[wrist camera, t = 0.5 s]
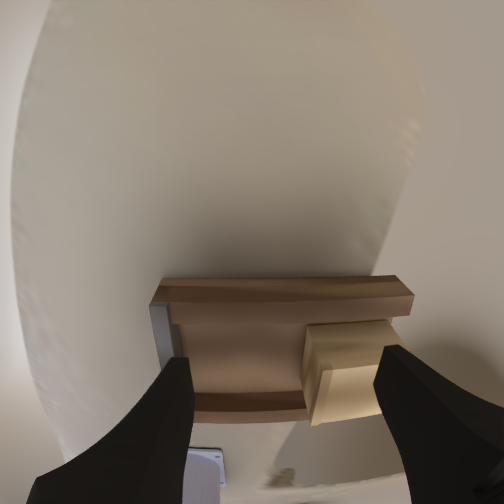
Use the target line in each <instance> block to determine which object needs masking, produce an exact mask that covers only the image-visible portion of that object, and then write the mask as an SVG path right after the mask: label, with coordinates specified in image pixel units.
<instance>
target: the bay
mask: <svg viewBox="0 0 504 504" xmlns="http://www.w3.org/2000/svg"><path fill="white" fill-rule="evenodd" d="M413 300H414V294H413V293H412V292H411V291H410V290H409V289H408V288H407V287H406V286H405V285H404V284H403V283H402V282H401V281H400V280H399V279H398V278H397V277H396V276H395V275H387V276H358V277H322V278H267V279H162V280H161V282H160V284H159V286H158V288H157V290H156V292H155V294H154V297H153V299H152V301H151V303H150V305H149V310H150V315H151V321H152V326H153V332H154V337H155V342H156V347H157V352H158V357H159V361H160V366H161V371H162V369H163V368H164V366H165V365H166V363H167V362H168V360H169V359H170V358H171V357H189V364H190V370H191V375H192V381H193V387H194V392H195V408H194V421H193V423H227V424H236V423H272V422H288V421H300V420H309V415H308V411H307V407H306V402H305V398H304V394H303V390H302V385H301V381H300V375H301V369H302V362H303V355H304V347H305V340H306V332H307V326H313V325H331V324H346V323H359V322H372V321H383V320H388V322H389V323H390V325H391V322H392V318H393V317H397V316H407V315H409V314H410V311H411V307H412V303H413Z"/></svg>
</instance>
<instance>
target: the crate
mask: <svg viewBox="0 0 504 504" xmlns="http://www.w3.org/2000/svg"><path fill="white" fill-rule="evenodd" d="M395 344H399V345H400V346H402V347H403V348H405V349H406V350H407V351H409V350H408V349H407V347H406V346H405V345H404V343H403V342H402V340H401V339H400V337H399V336H398V334H397V333H396V332H395V330H394V329H393V327H392V326H391V325H390V323H389V322H388V320H383V321H372V322H359V323H346V324H331V325H313V326H307V332H306V340H305V347H304V355H303V362H302V369H301V375H300V381H301V385H302V390H303V394H304V398H305V402H306V407H307V411H308V415H309V421H310V426H314V425H319V424H320V423H324V422H332V421H339V420H346V419H353V418H359V417H364V416H370V415H376V414H381V413H382V411H381V409H380V407H379V404H378V401H377V398H376V394H375V391H374V387H373V382H374V379H375V375H376V372H377V369H378V366H379V363H380V359H381V356H382V352H383V349H384V346H388V345H395ZM409 352H410V353H411V351H409Z"/></svg>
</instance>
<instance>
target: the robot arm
mask: <svg viewBox="0 0 504 504" xmlns="http://www.w3.org/2000/svg"><path fill="white" fill-rule="evenodd" d="M373 387H374V391H375V394H376V398H377V401H378V404H379V407H380V409H381V411H382V414H383V416H384V418H385V420H386V423H387V425H388V427H389V429H390V431H391V434H392V436H393V438H394V441H395V443H396V445H397V447H398V450H399V453H400V455H401V458H402V462H403V465H404V469H405V473H406V477H407V481H408V486H409V490H410V495H411V502H412V504H504V408H503V407H500V406H497V405H495V404H492V403H489V402H488V401H485V400H483V399H481V398H479V397H477V396H475V395H473V394H471V393H469V392H467V391H465V390H464V389H462V388H460V387H459V386H457V385H456V384H454V383H452V382H451V381H449V380H448V379H446V378H445V377H443V376H442V375H440V374H439V373H437V372H436V371H435V370H433V369H432V368H431V367H429V366H428V365H426V364H425V363H424V362H422V361H421V360H420V359H418V358H417V357H416V356H414V355H413V354H412V353H410V352H409V351H407V350H406V349H405V348H403V347H402V346H400V345H399V344H395V345H388V346H384V349H383V352H382V356H381V359H380V363H379V366H378V369H377V372H376V375H375V379H374V382H373ZM194 408H195V392H194V387H193V381H192V375H191V370H190V364H189V357H171V358H170V359H169V360H168V362H167V363H166V365H165V366H164V368H163V369H162V371H161V372H160V374H159V375H158V377H157V378H156V379H155V381H154V382H153V384H152V385H151V386H150V387H149V389H148V390H147V391H146V393H145V394H144V395H143V396H142V398H141V399H140V400H139V401H138V402H137V404H136V405H135V406H134V407H133V408H132V409H131V410H130V412H129V413H128V414H127V415H126V416H125V417H124V418H123V419H122V420H121V421H120V422H119V423H118V424H117V425H116V426H115V427H114V428H113V429H112V430H111V431H110V432H109V433H107V434H106V435H105V436H104V437H103V438H101V439H100V440H99V441H98V442H97V443H95V444H94V445H93V446H91V447H90V448H89V449H87V450H86V451H84V452H83V453H81V454H80V455H78V456H77V457H75V458H74V459H72V460H71V461H69V462H67V463H66V464H64V465H62V466H61V467H59V468H56V469H54V470H52V471H50V472H48V473H46V474H44V475H42V476H39V477H37V478H36V480H35V482H34V484H33V486H32V488H31V491H30V494H29V497H28V500H27V503H26V504H220V487H226V477H225V470H224V462H223V454H222V451H221V450H215V449H191V448H189V443H190V438H191V432H192V427H193V421H194Z"/></svg>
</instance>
